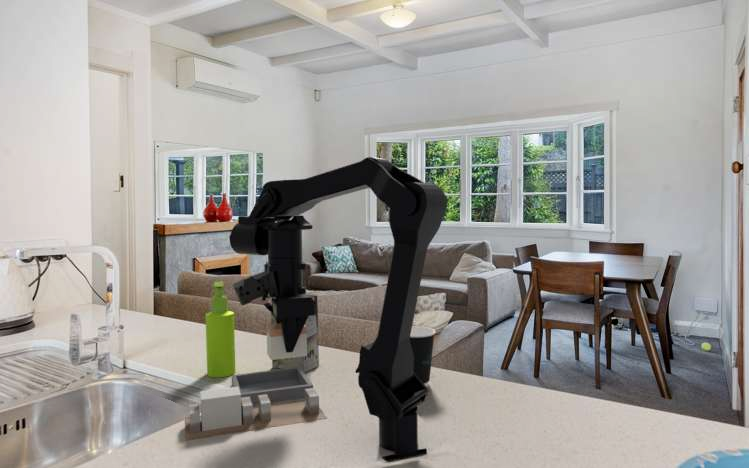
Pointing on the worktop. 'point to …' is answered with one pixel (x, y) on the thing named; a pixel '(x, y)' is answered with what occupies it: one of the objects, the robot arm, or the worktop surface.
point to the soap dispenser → (220, 336)
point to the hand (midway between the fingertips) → (286, 348)
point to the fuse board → (259, 415)
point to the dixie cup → (422, 351)
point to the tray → (273, 384)
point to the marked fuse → (277, 343)
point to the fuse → (220, 408)
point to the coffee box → (312, 347)
